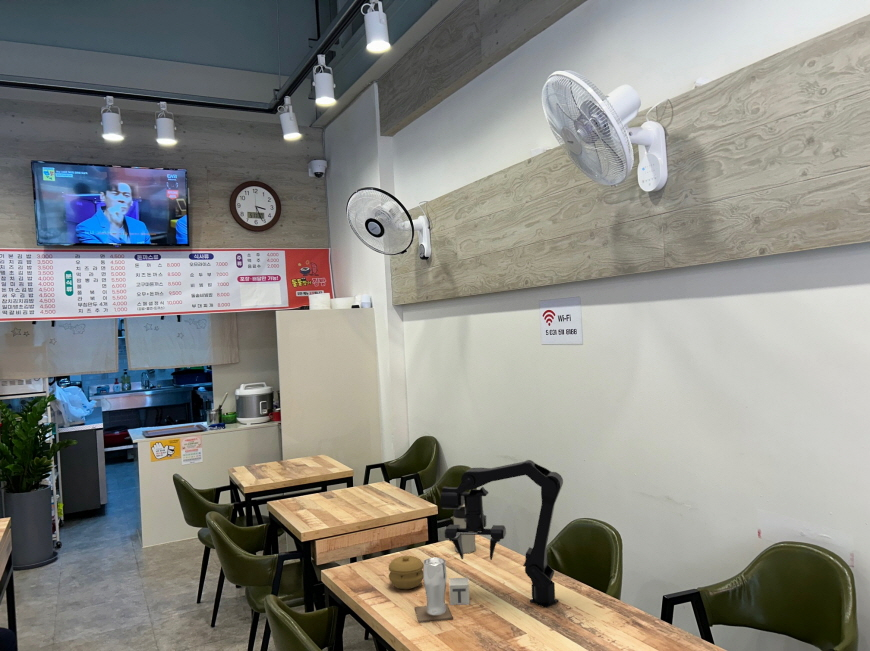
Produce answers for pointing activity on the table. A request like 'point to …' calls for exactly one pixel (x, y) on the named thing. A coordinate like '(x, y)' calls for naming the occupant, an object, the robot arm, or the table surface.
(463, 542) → the travel mug
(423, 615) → the coaster
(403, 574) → the pot
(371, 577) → the table surface
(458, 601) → the letter block
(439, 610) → the beer glass
